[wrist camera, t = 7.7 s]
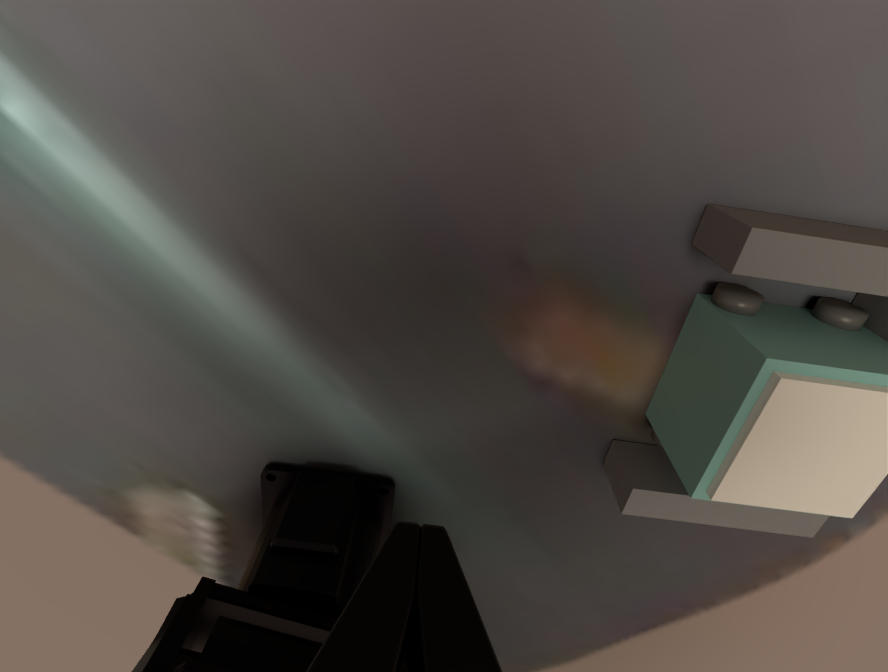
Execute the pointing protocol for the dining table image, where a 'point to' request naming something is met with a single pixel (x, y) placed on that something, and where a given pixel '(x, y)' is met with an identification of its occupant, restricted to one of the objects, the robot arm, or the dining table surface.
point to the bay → (770, 257)
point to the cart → (775, 404)
